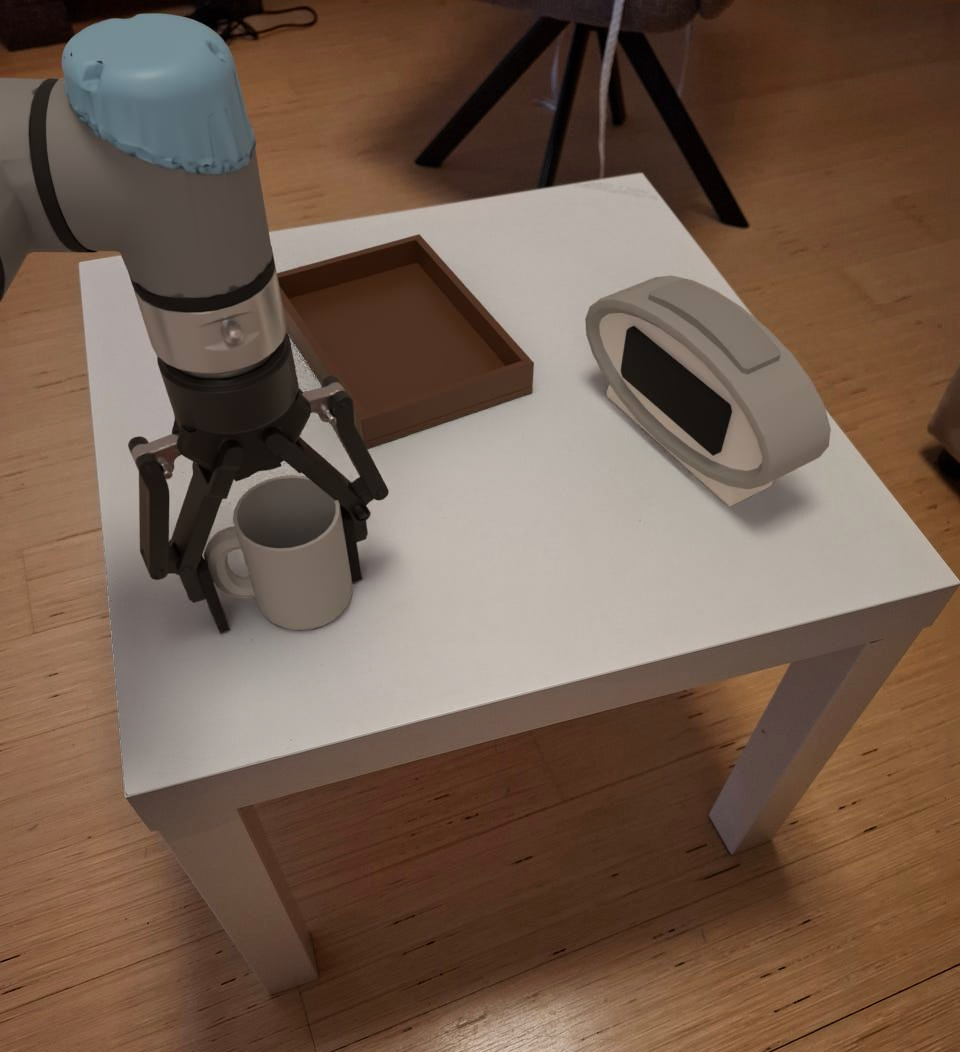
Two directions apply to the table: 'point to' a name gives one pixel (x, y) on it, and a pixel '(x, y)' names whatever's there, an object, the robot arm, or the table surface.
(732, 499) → the alarm clock
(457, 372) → the tray
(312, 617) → the cup
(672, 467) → the table surface
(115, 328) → the table surface
